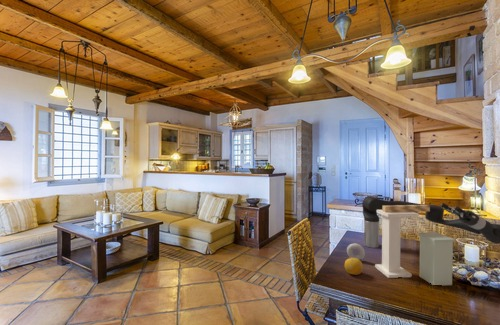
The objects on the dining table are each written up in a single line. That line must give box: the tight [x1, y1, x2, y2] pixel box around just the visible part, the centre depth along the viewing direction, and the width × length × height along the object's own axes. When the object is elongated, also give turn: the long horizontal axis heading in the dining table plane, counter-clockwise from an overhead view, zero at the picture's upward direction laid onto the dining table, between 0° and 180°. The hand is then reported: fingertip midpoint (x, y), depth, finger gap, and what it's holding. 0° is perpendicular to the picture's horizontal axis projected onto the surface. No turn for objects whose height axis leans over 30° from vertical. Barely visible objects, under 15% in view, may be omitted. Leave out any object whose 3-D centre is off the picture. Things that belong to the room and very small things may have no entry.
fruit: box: [344, 257, 364, 276], centre depth 127 cm, size 9×8×8 cm
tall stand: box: [374, 210, 420, 279], centre depth 128 cm, size 16×12×32 cm
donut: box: [346, 242, 366, 261], centre depth 143 cm, size 10×4×10 cm, turn 62°
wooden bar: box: [382, 204, 430, 213], centre depth 128 cm, size 24×2×3 cm, turn 93°
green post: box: [417, 232, 456, 286], centre depth 119 cm, size 10×10×22 cm
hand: (448, 205), depth 134 cm, fingers open, 8 cm apart
